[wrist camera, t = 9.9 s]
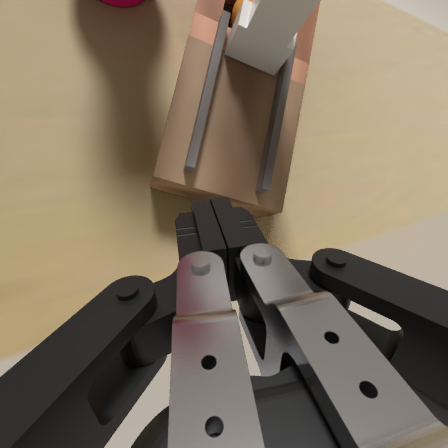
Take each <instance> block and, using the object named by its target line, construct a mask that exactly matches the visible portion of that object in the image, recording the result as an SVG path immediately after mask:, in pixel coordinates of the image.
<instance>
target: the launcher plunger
mask: <svg viewBox="0 0 448 448" xmlns="http://www.w3.org/2000/svg"><path fill="white" fill-rule="evenodd" d="M320 1H321V0H253V2H250V1H248V0H243V2H242V5H241V7H240V9H239V12H238V14H237V16H236V19H235V21H234V23H233V26H232V28H231V31H230V34H229V38H228V42H227V47H226V51H225V55H226V56H229V57H231V58H233V59H236V60H238V61H240V62H243V63H245V64H247V65H250V66H252V67H254V68H257V69H259V70H261V71H264V72H266V73H268V74H271V75H273V76H274V75H275V74H276V72H277V71H278V70H279V68H280V67H281V66H282V65H283V63H284V62H285V61H286V60H287V58H288V57H289V56H290V55H291V53H292V52H293V51H294V47H295V41H296V36H297V32H298V30H299V29H300V28H301V26H302V25H303V24H304V22H305V21H306V20H307V18H308V17H309V16H310V14H311V13H312V11H313V10H314V9H315V7H316V6H317V5H318V3H319V2H320Z"/></svg>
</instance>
